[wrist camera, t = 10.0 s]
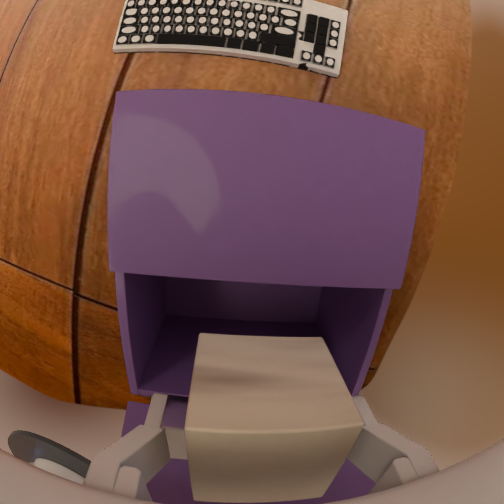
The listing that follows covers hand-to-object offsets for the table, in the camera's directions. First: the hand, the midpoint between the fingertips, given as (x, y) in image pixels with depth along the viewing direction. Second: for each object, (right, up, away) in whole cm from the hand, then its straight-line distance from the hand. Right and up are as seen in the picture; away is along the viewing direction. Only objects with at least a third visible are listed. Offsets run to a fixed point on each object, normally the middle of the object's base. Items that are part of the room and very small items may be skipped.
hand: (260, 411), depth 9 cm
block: (0, +1, +2) cm, 2 cm away
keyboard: (-2, +23, +8) cm, 24 cm away
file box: (-1, +7, +12) cm, 14 cm away
